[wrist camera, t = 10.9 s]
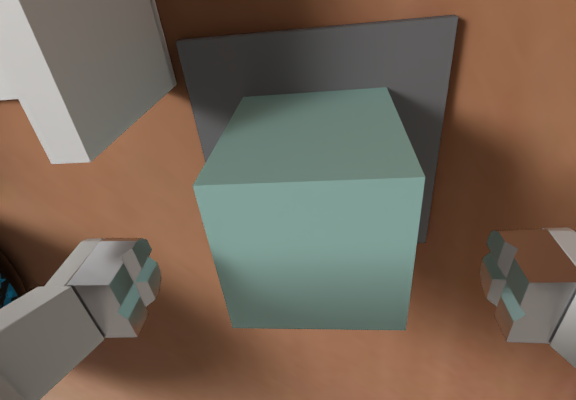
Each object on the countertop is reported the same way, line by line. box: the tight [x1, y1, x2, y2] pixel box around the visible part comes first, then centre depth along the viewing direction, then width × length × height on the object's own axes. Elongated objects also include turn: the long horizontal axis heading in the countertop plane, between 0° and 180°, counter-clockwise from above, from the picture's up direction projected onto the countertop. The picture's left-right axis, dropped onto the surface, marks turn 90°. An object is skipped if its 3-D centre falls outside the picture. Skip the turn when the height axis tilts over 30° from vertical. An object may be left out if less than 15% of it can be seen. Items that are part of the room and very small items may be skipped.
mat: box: [176, 15, 458, 243], centre depth 14 cm, size 9×9×1 cm
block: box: [193, 87, 425, 330], centre depth 12 cm, size 5×5×6 cm
